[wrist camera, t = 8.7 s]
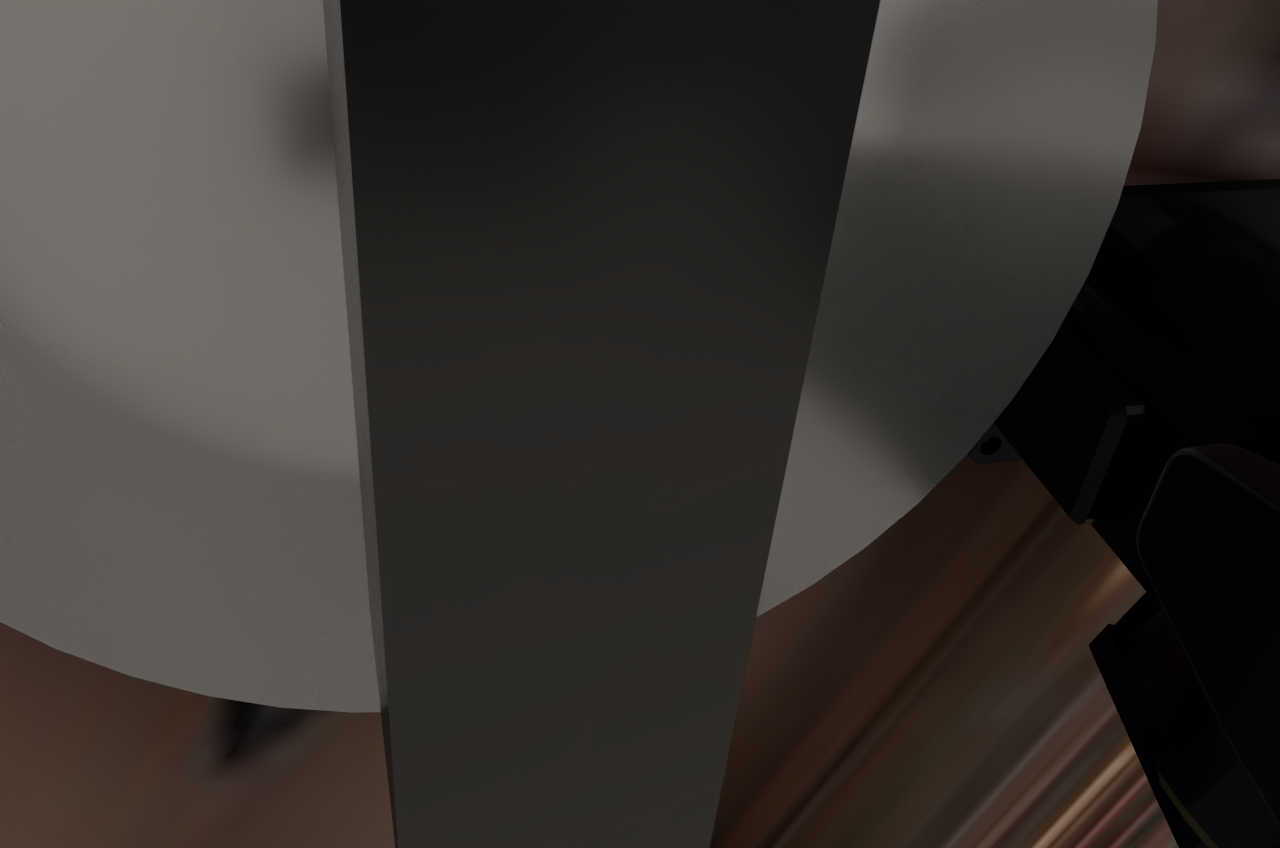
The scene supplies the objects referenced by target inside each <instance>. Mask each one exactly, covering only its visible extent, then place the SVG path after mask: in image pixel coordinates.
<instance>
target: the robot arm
mask: <svg viewBox="0 0 1280 848" xmlns="http://www.w3.org/2000/svg"><path fill="white" fill-rule="evenodd" d="M989 438H990V439H989ZM987 439H989V440H988V441H986V440H987ZM984 441H986V442H985V443H983V442H984ZM968 455H969V456H970V457H971V459H972V460H973V461H975V462H977V463H982V464H987V463H996V462H1005V461H1014V460H1024V461H1025V463H1026V464H1027V465H1028V466H1029V468H1030V469H1031V470H1032V471H1033V473H1034V474H1035V475H1036V476H1037V478H1038V479H1039V480H1040V481H1041V482H1042V484H1043V485H1044V486H1045V487H1046V489H1047V490H1048V491H1049V492H1050V494H1051V495H1052V496H1053V497H1054V499H1055V500H1056V501H1057V502H1058V504H1059V505H1060V506H1061V507H1062V508H1063V510H1064V511H1065V512H1066V513H1067V515H1068V516H1069V517H1070V518H1071V519H1072V520H1073V521H1074V522H1075V523H1077V524H1087V523H1090V524H1091V525H1092V526H1093V527H1094V528H1095V530H1096V531H1097V532H1098V533H1099V535H1100V536H1101V537H1102V538H1103V539H1104V541H1105V542H1106V543H1107V544H1108V545H1109V547H1110V548H1111V549H1112V550H1113V552H1114V553H1115V554H1116V555H1117V556H1118V558H1119V559H1120V560H1121V561H1122V562H1123V564H1124V565H1125V566H1126V567H1127V569H1128V570H1129V571H1130V572H1131V573H1132V575H1133V576H1134V577H1135V578H1136V579H1137V581H1138V582H1139V583H1140V584H1141V586H1142V587H1143V588H1144V589H1145V590H1146V592H1145V594H1144V595H1143V596H1142V597H1141V598H1140V599H1139V600H1138V601H1137V602H1136V603H1135V604H1134V605H1133V606H1132V607H1131V608H1130V609H1129V610H1128V611H1127V612H1126V613H1125V614H1124V615H1123V617H1122V618H1121V619H1120V620H1119V621H1118V622H1117V623H1116V624H1115V625H1112V624H1108V625H1107V626H1106V627H1105V628H1104V629H1103V630H1102V631H1101V632H1100V633H1099V634H1098V635H1097V637H1096V638H1095V639H1094V640H1093V641H1092V642H1091V643H1090V644H1089V647H1090V650H1091V652H1092V654H1093V656H1094V659H1095V661H1096V663H1097V666H1098V668H1099V670H1100V672H1101V675H1102V677H1103V679H1104V681H1105V684H1106V686H1107V689H1108V691H1109V693H1110V695H1111V698H1112V700H1113V702H1114V704H1115V707H1116V709H1117V711H1118V713H1119V715H1120V718H1121V720H1122V722H1123V724H1124V727H1125V729H1126V731H1127V733H1128V736H1129V738H1130V740H1131V743H1132V745H1133V747H1134V749H1135V752H1136V754H1137V756H1138V758H1139V761H1140V763H1141V765H1142V767H1143V770H1144V772H1145V774H1146V777H1147V779H1148V781H1149V783H1150V786H1151V788H1152V790H1153V792H1154V795H1155V797H1156V799H1157V801H1158V804H1159V806H1160V808H1161V810H1162V811H1163V814H1164V816H1165V818H1166V820H1167V823H1168V825H1169V827H1170V829H1171V831H1172V834H1173V836H1174V838H1175V840H1176V843H1177V844H1178V846H1179V848H1280V179H1271V180H1248V181H1226V182H1204V183H1181V184H1159V185H1136V186H1123V189H1122V193H1121V196H1120V199H1119V203H1118V205H1117V208H1116V210H1115V213H1114V215H1113V217H1112V220H1111V222H1110V224H1109V227H1108V229H1107V232H1106V234H1105V236H1104V239H1103V241H1102V244H1101V246H1100V248H1099V251H1098V253H1097V256H1096V258H1095V260H1094V263H1093V265H1092V268H1091V270H1090V272H1089V275H1088V277H1087V278H1086V280H1085V282H1084V284H1083V286H1082V288H1081V289H1080V291H1079V293H1078V295H1077V297H1076V299H1075V300H1074V302H1073V304H1072V306H1071V308H1070V310H1069V311H1068V313H1067V315H1066V317H1065V319H1064V321H1063V322H1062V324H1061V326H1060V328H1059V330H1058V332H1057V333H1056V335H1055V337H1054V339H1053V341H1052V342H1051V344H1050V345H1049V347H1048V348H1047V350H1046V351H1045V353H1044V354H1043V355H1042V357H1041V358H1040V360H1039V361H1038V363H1037V364H1036V366H1035V367H1034V369H1033V370H1032V372H1031V373H1030V375H1029V376H1028V377H1027V379H1026V380H1025V382H1024V383H1023V385H1022V386H1021V388H1020V389H1019V391H1018V392H1017V394H1016V395H1015V397H1014V398H1013V399H1012V401H1011V402H1010V403H1009V404H1008V406H1007V407H1006V408H1005V409H1004V410H1003V412H1002V413H1001V414H1000V415H999V417H998V418H997V419H996V420H995V421H994V423H993V424H992V425H991V426H990V427H989V429H988V430H987V431H986V432H985V433H984V435H983V436H982V437H981V438H980V439H979V441H978V442H977V443H976V444H975V445H974V447H973V448H972V449H971V450H970V451H969V453H968Z"/></svg>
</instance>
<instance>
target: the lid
mask: <svg viewBox="0 0 1280 848" xmlns="http://www.w3.org/2000/svg"><path fill="white" fill-rule="evenodd" d="M1157 6H1158V0H0V622H1V623H3V624H5V625H7V626H9V627H11V628H13V629H16V630H18V631H20V632H22V633H24V634H26V635H28V636H30V637H32V638H34V639H36V640H38V641H40V642H42V643H44V644H47V645H49V646H51V647H53V648H55V649H57V650H60V651H63V652H66V653H68V654H71V655H74V656H77V657H79V658H82V659H85V660H87V661H90V662H93V663H96V664H98V665H101V666H104V667H107V668H109V669H112V670H115V671H118V672H120V673H123V674H126V675H129V676H132V677H136V678H139V679H143V680H147V681H151V682H155V683H159V684H163V685H167V686H170V687H174V688H178V689H182V690H186V691H190V692H194V693H198V694H202V695H205V696H211V697H218V698H224V699H230V700H236V701H243V702H249V703H255V704H261V705H268V706H274V707H280V708H295V709H309V710H324V711H338V712H381V718H382V728H383V737H384V746H385V755H386V765H387V774H388V783H389V793H390V802H391V811H392V820H393V830H394V839H395V848H710V844H711V839H712V834H713V829H714V824H715V819H716V814H717V809H718V804H719V799H720V794H721V789H722V784H723V779H724V774H725V769H726V764H727V759H728V754H729V749H730V744H731V739H732V734H733V729H734V724H735V720H736V715H737V710H738V705H739V700H740V695H741V690H742V685H743V680H744V675H745V670H746V665H747V660H748V655H749V650H750V645H751V640H752V635H753V630H754V625H755V620H756V617H758V616H760V615H761V614H763V613H765V612H766V611H768V610H770V609H772V608H773V607H775V606H777V605H779V604H780V603H782V602H784V601H786V600H787V599H789V598H791V597H792V596H794V595H796V594H798V593H799V592H801V591H803V590H805V589H806V588H808V587H810V586H811V585H813V584H814V583H815V582H817V581H818V580H820V579H821V578H823V577H824V576H825V575H827V574H828V573H830V572H831V571H833V570H834V569H836V568H837V567H838V566H840V565H841V564H843V563H844V562H846V561H847V560H848V559H850V558H851V557H853V556H854V555H856V554H857V553H858V552H860V551H861V550H863V549H864V548H865V547H867V546H868V545H869V544H870V543H871V542H873V541H874V540H875V539H876V538H877V537H879V536H880V535H881V534H882V533H883V532H885V531H886V530H887V529H888V528H889V527H891V526H892V525H893V524H894V523H895V522H897V521H898V520H899V519H900V518H901V517H903V516H904V515H905V514H906V513H907V512H909V511H910V510H911V509H912V508H913V507H915V506H916V505H917V504H918V503H919V502H920V501H921V500H922V499H923V498H924V497H925V496H926V495H927V494H928V493H929V492H930V491H931V490H932V489H933V488H934V487H935V486H936V485H937V484H938V483H939V482H940V481H941V480H942V479H943V478H944V477H945V476H946V475H947V474H948V473H949V472H950V471H951V470H952V469H953V468H954V467H955V466H956V465H957V464H958V463H959V462H960V461H961V460H962V459H963V458H964V457H965V456H966V455H967V454H968V453H969V451H970V450H971V449H972V448H973V447H974V445H975V444H976V443H977V442H978V441H979V439H980V438H981V437H982V436H983V435H984V433H985V432H986V431H987V430H988V429H989V427H990V426H991V425H992V424H993V423H994V421H995V420H996V419H997V418H998V417H999V415H1000V414H1001V413H1002V412H1003V410H1004V409H1005V408H1006V407H1007V406H1008V404H1009V403H1010V402H1011V401H1012V399H1013V398H1014V397H1015V395H1016V394H1017V392H1018V391H1019V389H1020V388H1021V386H1022V385H1023V383H1024V382H1025V380H1026V379H1027V377H1028V376H1029V375H1030V373H1031V372H1032V370H1033V369H1034V367H1035V366H1036V364H1037V363H1038V361H1039V360H1040V358H1041V357H1042V355H1043V354H1044V353H1045V351H1046V350H1047V348H1048V347H1049V345H1050V344H1051V342H1052V341H1053V339H1054V337H1055V335H1056V333H1057V332H1058V330H1059V328H1060V326H1061V324H1062V322H1063V321H1064V319H1065V317H1066V315H1067V313H1068V311H1069V310H1070V308H1071V306H1072V304H1073V302H1074V300H1075V299H1076V297H1077V295H1078V293H1079V291H1080V289H1081V288H1082V286H1083V284H1084V282H1085V280H1086V278H1087V277H1088V275H1089V272H1090V270H1091V268H1092V265H1093V263H1094V260H1095V258H1096V256H1097V253H1098V251H1099V248H1100V246H1101V244H1102V241H1103V239H1104V236H1105V234H1106V232H1107V229H1108V227H1109V224H1110V222H1111V220H1112V217H1113V215H1114V213H1115V210H1116V208H1117V205H1118V203H1119V199H1120V196H1121V193H1122V189H1123V186H1124V182H1125V179H1126V176H1127V172H1128V169H1129V165H1130V162H1131V159H1132V155H1133V152H1134V149H1135V145H1136V142H1137V138H1138V135H1139V132H1140V128H1141V124H1142V118H1143V112H1144V107H1145V101H1146V95H1147V89H1148V84H1149V78H1150V72H1151V67H1152V61H1153V55H1154V50H1155V43H1156V25H1157Z"/></svg>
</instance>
